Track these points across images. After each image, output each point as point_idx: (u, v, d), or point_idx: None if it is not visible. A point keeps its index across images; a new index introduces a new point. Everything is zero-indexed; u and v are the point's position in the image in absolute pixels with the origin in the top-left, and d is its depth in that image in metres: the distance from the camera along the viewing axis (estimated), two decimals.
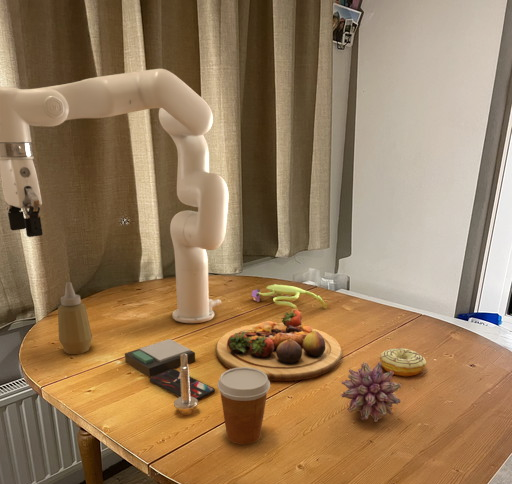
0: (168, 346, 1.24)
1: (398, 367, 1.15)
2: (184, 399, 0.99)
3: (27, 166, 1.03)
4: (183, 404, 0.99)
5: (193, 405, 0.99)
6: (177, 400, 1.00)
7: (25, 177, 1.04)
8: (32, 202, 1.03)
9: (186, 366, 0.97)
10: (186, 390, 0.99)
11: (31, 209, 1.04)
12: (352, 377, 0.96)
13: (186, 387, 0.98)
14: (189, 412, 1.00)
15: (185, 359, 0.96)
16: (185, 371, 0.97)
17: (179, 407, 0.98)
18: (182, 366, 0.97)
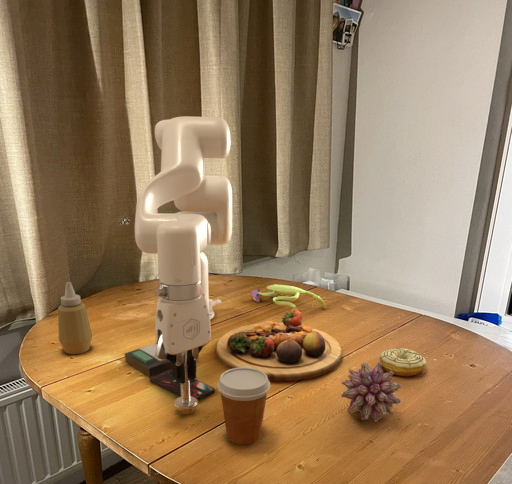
0: None
1: (398, 367, 1.15)
2: (184, 399, 0.99)
3: (161, 310, 0.89)
4: (183, 404, 0.99)
5: (193, 405, 0.99)
6: (177, 400, 1.00)
7: None
8: None
9: (186, 366, 0.97)
10: (186, 390, 0.99)
11: None
12: (352, 377, 0.96)
13: (186, 387, 0.98)
14: (189, 412, 1.00)
15: (185, 359, 0.96)
16: (185, 371, 0.97)
17: (179, 407, 0.98)
18: None
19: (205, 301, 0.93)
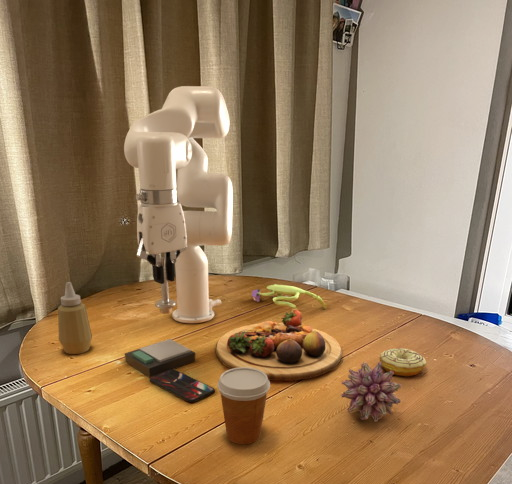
0: (168, 346, 1.24)
1: (398, 367, 1.15)
2: (164, 299, 1.13)
3: (142, 213, 1.02)
4: (163, 304, 1.12)
5: (172, 305, 1.13)
6: (158, 301, 1.14)
7: None
8: None
9: (165, 268, 1.10)
10: (165, 291, 1.12)
11: None
12: (352, 377, 0.96)
13: (165, 288, 1.12)
14: (168, 311, 1.14)
15: (164, 262, 1.10)
16: (164, 273, 1.10)
17: (159, 306, 1.12)
18: None
19: (181, 209, 1.07)
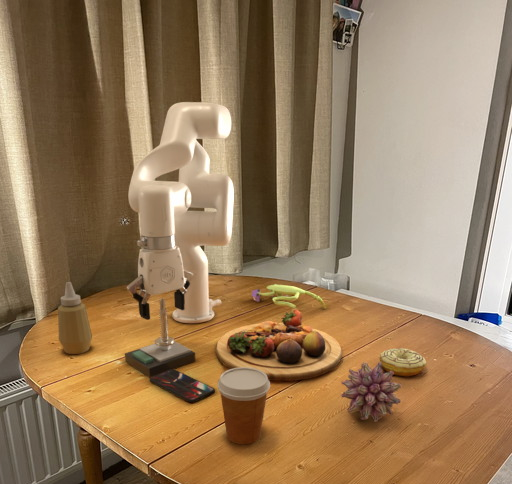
0: None
1: (398, 367, 1.15)
2: (163, 338, 1.20)
3: (142, 258, 1.10)
4: (162, 342, 1.20)
5: (170, 342, 1.20)
6: (157, 339, 1.22)
7: None
8: None
9: (164, 309, 1.18)
10: (164, 330, 1.20)
11: None
12: (352, 377, 0.96)
13: (164, 327, 1.20)
14: (167, 349, 1.21)
15: (163, 303, 1.18)
16: (163, 313, 1.18)
17: (159, 344, 1.20)
18: (161, 309, 1.18)
19: (179, 252, 1.14)
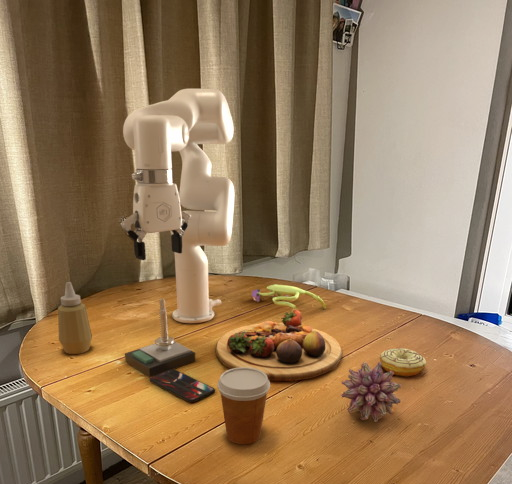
0: None
1: (398, 367, 1.15)
2: (163, 338, 1.20)
3: (138, 192, 1.05)
4: (162, 342, 1.20)
5: (170, 342, 1.20)
6: (157, 339, 1.22)
7: None
8: None
9: (164, 309, 1.18)
10: (164, 330, 1.20)
11: None
12: (352, 377, 0.96)
13: (164, 327, 1.20)
14: (167, 349, 1.21)
15: (163, 303, 1.18)
16: (163, 313, 1.18)
17: (159, 344, 1.20)
18: (161, 309, 1.18)
19: (176, 189, 1.09)
